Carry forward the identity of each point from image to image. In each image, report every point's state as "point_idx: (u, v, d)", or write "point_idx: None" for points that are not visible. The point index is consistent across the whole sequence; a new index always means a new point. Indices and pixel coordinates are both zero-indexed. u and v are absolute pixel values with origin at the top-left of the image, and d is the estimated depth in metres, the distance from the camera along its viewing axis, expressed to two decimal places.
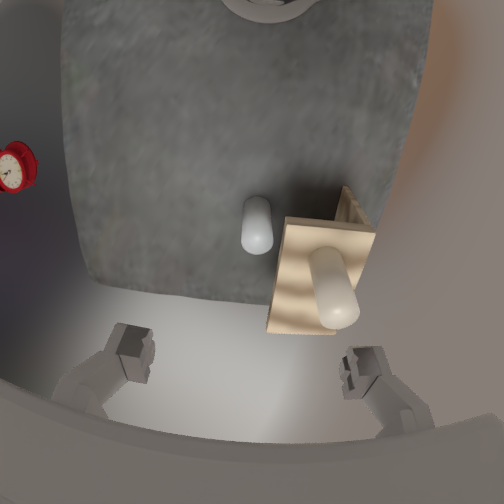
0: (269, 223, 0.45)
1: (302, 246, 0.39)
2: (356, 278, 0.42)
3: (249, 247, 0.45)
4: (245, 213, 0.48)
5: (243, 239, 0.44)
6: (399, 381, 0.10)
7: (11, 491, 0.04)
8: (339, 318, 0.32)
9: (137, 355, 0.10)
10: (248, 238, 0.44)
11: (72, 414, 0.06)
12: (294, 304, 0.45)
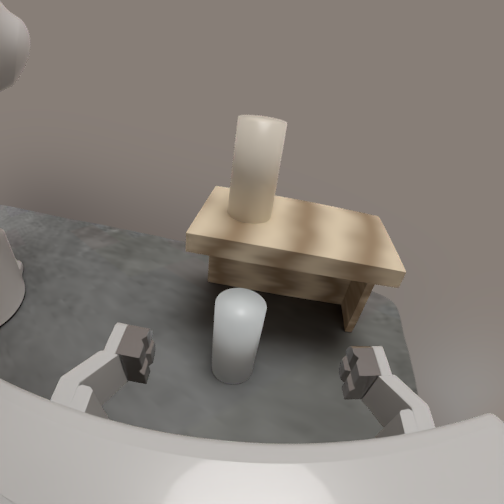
0: None
1: (225, 225, 0.29)
2: (278, 197, 0.36)
3: (252, 315, 0.26)
4: (220, 357, 0.28)
5: (234, 319, 0.25)
6: (399, 381, 0.10)
7: (11, 491, 0.04)
8: (267, 119, 0.26)
9: (137, 355, 0.10)
10: (233, 313, 0.26)
11: (72, 414, 0.06)
12: (334, 240, 0.29)
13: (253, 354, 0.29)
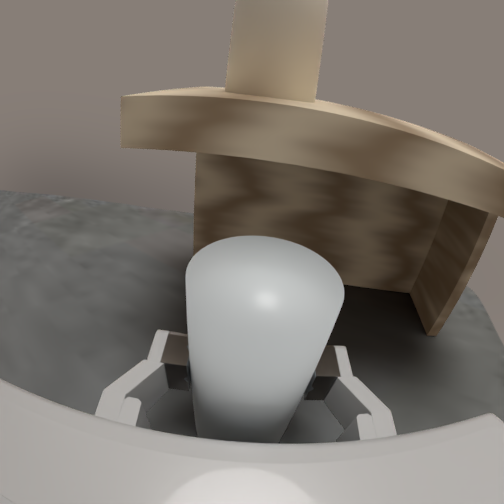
0: None
1: (218, 93, 0.11)
2: (315, 99, 0.19)
3: (307, 305, 0.08)
4: (210, 419, 0.10)
5: (251, 323, 0.07)
6: (360, 383, 0.10)
7: (11, 491, 0.04)
8: None
9: (184, 363, 0.10)
10: (244, 301, 0.08)
11: (72, 414, 0.06)
12: (448, 141, 0.11)
13: (295, 409, 0.10)
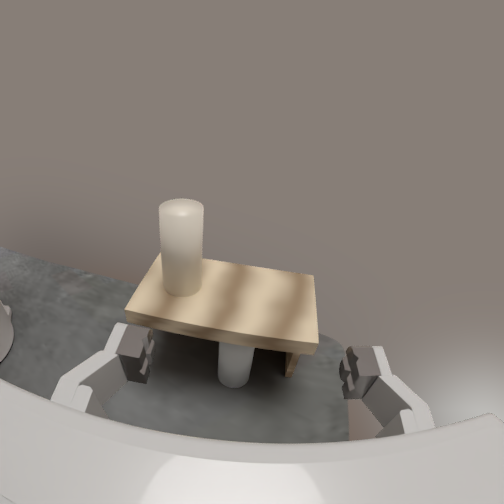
0: None
1: (157, 300, 0.33)
2: (215, 262, 0.40)
3: None
4: (224, 368, 0.38)
5: None
6: (399, 381, 0.10)
7: (11, 491, 0.04)
8: (185, 207, 0.30)
9: (137, 355, 0.10)
10: None
11: (72, 414, 0.06)
12: (253, 311, 0.33)
13: (249, 365, 0.38)
